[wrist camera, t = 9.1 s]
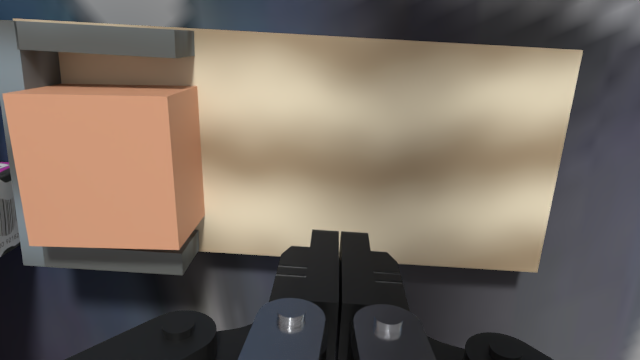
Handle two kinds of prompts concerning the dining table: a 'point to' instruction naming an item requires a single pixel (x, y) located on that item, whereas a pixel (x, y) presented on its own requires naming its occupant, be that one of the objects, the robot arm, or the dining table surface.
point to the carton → (108, 164)
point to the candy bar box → (7, 212)
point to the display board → (329, 138)
